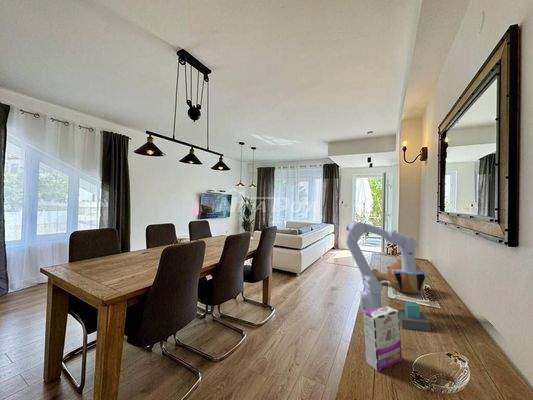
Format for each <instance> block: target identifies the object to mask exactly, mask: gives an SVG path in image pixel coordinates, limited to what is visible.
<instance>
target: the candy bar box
mask: <svg viewBox="0 0 533 400" xmlns="http://www.w3.org/2000/svg"><path fill="white" fill-rule="evenodd" d="M398 310H399V309H397V310H396V309H395V308H393V307H392V306H391V307H390V306H389V305H384V306H382V307H381V308H377V309H374V310H370V311H367V312H362V315H363V331H364V332H363V333H364V344H365V345H364V347H365V363H366V364H367V365H368V366H370V367H371V369H374V370H375V371H376V372H380V371H383V370H386V369H388V368H390V367H392V366H394V365H396V364H397V365H398V364H400V363H401V362H403V358H402V357H403V355H402V342H401V328H400V327H401V325H400V323H399V311H398Z"/></svg>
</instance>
